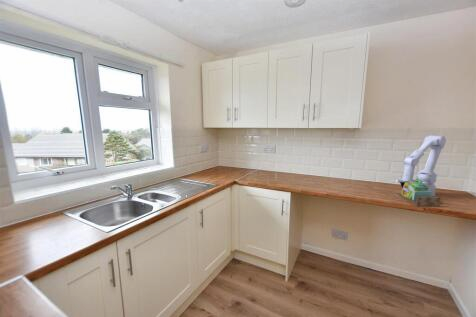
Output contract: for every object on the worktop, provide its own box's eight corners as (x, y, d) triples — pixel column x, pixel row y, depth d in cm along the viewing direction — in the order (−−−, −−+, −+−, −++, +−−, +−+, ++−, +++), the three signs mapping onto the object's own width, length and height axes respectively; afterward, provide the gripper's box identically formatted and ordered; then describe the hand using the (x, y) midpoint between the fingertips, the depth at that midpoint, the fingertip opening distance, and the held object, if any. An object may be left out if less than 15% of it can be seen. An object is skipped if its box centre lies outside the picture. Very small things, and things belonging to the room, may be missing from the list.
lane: (413, 195, 150) (414, 188, 149) (438, 206, 131) (440, 197, 130) (394, 195, 150) (395, 188, 149) (416, 206, 131) (418, 197, 130)
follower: (427, 202, 137) (429, 190, 136) (429, 203, 136) (431, 191, 134) (411, 202, 137) (413, 190, 136) (413, 203, 136) (415, 191, 134)
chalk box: (399, 194, 148) (406, 176, 142) (411, 194, 148) (419, 176, 142) (409, 202, 139) (417, 183, 133) (422, 202, 139) (431, 183, 134)
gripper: (413, 173, 150) (410, 190, 152) (394, 172, 150) (390, 190, 152) (422, 175, 143) (418, 194, 145) (401, 174, 143) (398, 193, 145)
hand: (404, 192), depth 148 cm, fingers closed, pressing on chalk box
